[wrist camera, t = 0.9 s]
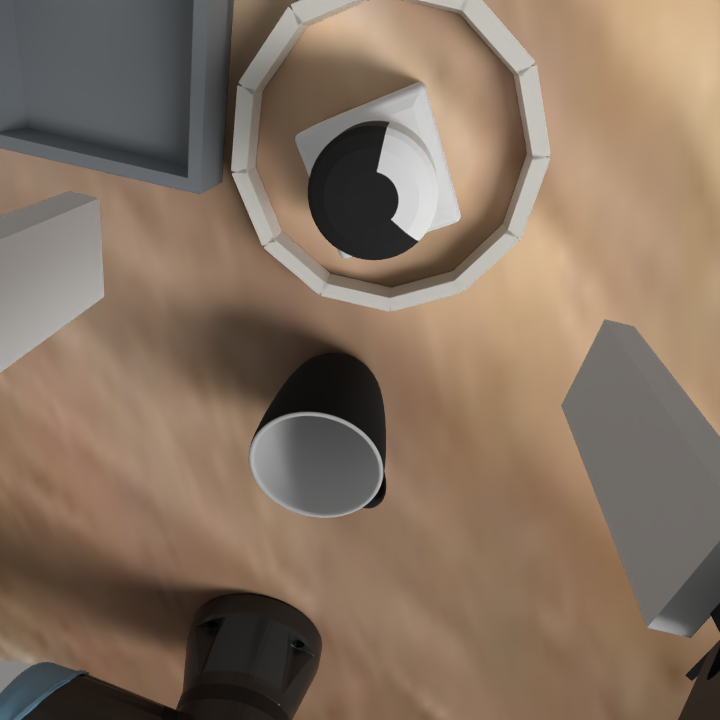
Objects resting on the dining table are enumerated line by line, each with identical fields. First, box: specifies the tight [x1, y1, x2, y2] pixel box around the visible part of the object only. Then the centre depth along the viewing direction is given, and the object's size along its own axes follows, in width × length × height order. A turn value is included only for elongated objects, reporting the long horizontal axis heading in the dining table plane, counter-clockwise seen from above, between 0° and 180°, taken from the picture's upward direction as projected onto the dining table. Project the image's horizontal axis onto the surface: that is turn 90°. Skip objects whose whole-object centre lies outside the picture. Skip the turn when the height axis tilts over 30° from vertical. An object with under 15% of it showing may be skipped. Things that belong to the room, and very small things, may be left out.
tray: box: [0, 0, 234, 194], centre depth 30 cm, size 14×14×4 cm
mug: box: [249, 353, 386, 518], centre depth 39 cm, size 12×9×10 cm
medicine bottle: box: [295, 82, 461, 260], centre depth 29 cm, size 7×7×12 cm
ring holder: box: [231, 0, 551, 311], centre depth 33 cm, size 19×19×2 cm
